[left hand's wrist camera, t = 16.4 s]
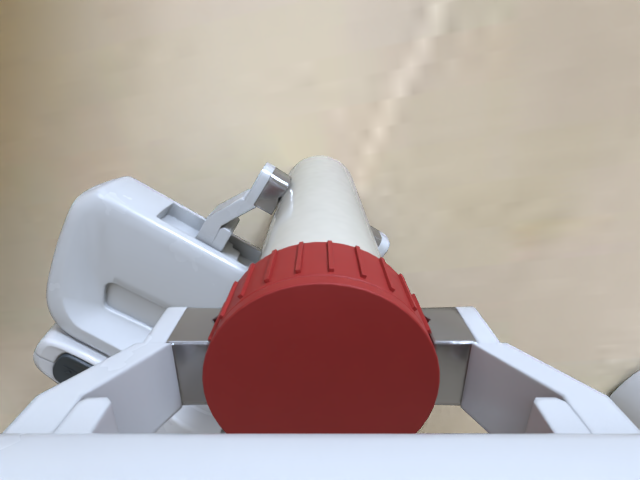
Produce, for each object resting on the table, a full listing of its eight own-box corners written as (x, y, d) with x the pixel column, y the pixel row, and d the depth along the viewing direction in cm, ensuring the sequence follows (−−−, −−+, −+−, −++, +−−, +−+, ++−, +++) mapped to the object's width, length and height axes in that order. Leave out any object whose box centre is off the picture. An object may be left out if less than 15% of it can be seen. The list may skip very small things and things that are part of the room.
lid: (295, 429, 12) (289, 501, 10) (181, 304, 10) (146, 358, 8) (452, 353, 11) (483, 416, 9) (354, 198, 9) (364, 230, 7)
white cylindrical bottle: (287, 224, 25) (236, 443, 10) (282, 156, 23) (212, 290, 8) (354, 222, 25) (411, 438, 10) (354, 153, 23) (422, 282, 8)
